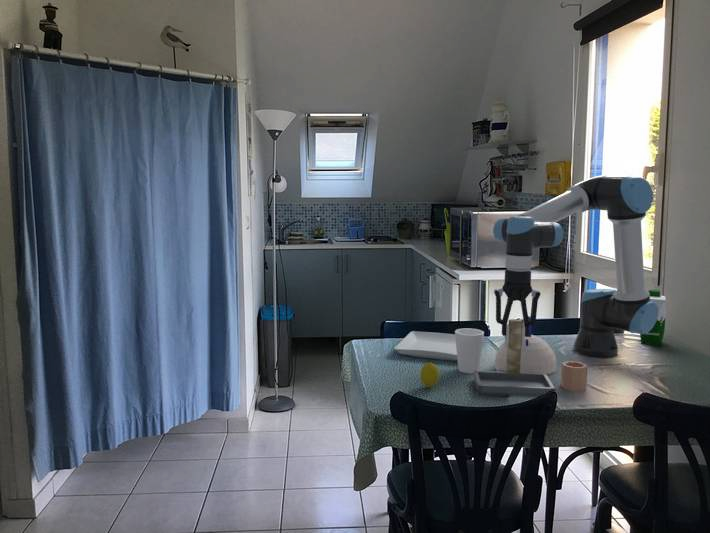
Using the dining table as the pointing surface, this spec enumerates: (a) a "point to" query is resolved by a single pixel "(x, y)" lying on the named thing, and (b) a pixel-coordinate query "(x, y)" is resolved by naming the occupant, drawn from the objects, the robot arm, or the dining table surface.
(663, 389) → the dining table surface
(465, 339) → the foam cup
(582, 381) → the pink octagonal cup
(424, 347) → the square plate
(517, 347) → the peg
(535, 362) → the kettle
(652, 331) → the milk carton
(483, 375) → the tray
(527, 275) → the robot arm
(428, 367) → the lemon
